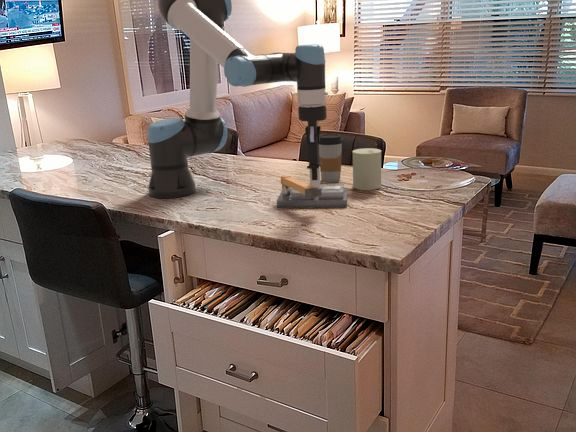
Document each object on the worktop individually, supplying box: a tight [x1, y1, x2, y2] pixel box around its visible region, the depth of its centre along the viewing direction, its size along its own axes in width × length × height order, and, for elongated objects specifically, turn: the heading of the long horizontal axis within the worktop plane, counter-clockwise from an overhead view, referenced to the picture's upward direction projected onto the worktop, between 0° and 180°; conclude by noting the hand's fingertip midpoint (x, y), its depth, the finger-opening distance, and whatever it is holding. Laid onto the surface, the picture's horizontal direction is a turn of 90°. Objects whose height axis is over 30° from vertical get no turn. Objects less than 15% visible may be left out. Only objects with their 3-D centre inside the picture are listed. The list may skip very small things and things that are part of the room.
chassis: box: [276, 183, 349, 209], centre depth 175 cm, size 20×14×5 cm
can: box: [352, 147, 383, 191], centre depth 187 cm, size 9×9×12 cm
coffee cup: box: [319, 133, 343, 183], centre depth 197 cm, size 8×8×15 cm
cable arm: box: [280, 175, 322, 198], centre depth 167 cm, size 20×4×2 cm, turn 25°
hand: (315, 190), depth 164 cm, fingers closed
